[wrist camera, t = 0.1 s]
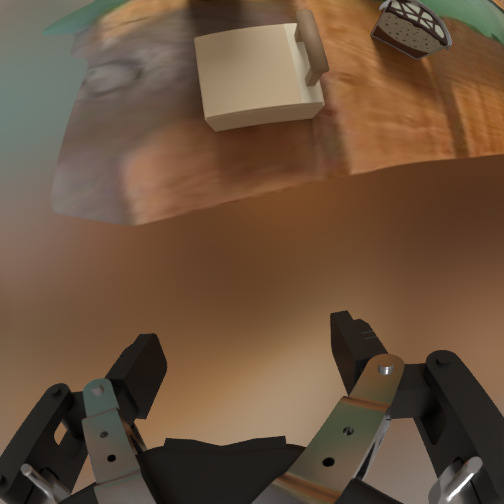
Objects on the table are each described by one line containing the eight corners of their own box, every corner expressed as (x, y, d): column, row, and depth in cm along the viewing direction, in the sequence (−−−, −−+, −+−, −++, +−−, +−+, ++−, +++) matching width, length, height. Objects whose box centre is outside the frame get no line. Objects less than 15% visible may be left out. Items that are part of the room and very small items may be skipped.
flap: (195, 39, 26) (182, 12, 19) (303, 25, 25) (311, -4, 18) (206, 118, 29) (192, 103, 22) (322, 103, 28) (338, 85, 21)
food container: (425, 41, 30) (453, 22, 20) (423, 64, 31) (454, 46, 22) (366, 10, 29) (386, -18, 20) (362, 32, 31) (383, 3, 21)
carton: (205, 61, 33) (193, 38, 26) (296, 49, 33) (304, 24, 25) (215, 131, 36) (205, 120, 29) (312, 118, 36) (324, 104, 28)
